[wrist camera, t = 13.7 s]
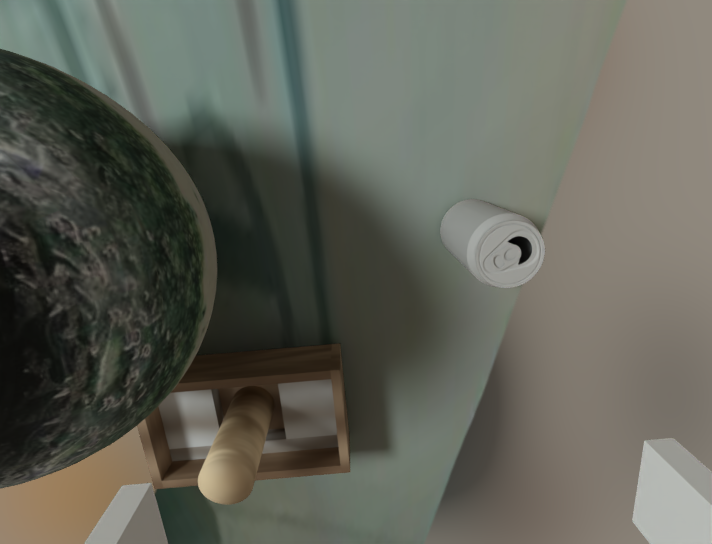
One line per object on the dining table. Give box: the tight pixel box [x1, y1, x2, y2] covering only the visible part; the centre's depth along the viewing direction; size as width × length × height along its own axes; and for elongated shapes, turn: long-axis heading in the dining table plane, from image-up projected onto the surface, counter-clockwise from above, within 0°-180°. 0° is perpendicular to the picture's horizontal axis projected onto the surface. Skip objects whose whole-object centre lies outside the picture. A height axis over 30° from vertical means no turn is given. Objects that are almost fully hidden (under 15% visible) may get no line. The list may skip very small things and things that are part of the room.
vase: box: [0, 49, 217, 488], centre depth 29 cm, size 28×28×30 cm
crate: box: [137, 343, 350, 489], centre depth 47 cm, size 13×22×6 cm, turn 94°
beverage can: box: [440, 199, 545, 288], centre depth 39 cm, size 6×6×12 cm
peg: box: [198, 386, 274, 504], centre depth 43 cm, size 5×5×12 cm
